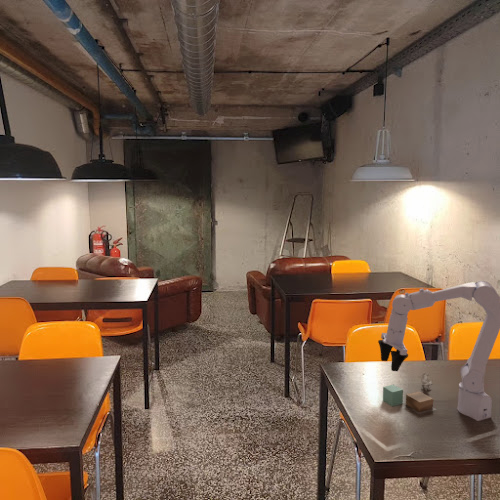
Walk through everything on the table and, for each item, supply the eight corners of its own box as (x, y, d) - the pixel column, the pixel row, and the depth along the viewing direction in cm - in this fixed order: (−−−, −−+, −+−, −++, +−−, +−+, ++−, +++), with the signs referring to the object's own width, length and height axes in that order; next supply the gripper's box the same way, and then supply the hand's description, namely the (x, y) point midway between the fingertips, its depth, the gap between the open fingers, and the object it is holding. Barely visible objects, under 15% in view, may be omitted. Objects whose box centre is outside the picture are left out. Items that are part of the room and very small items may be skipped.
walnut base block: (432, 408, 142) (433, 398, 142) (419, 412, 140) (419, 402, 139) (419, 400, 148) (419, 391, 147) (405, 404, 145) (406, 394, 145)
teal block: (402, 403, 146) (403, 389, 145) (392, 406, 144) (392, 392, 143) (393, 398, 150) (393, 384, 149) (382, 400, 148) (383, 386, 147)
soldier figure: (439, 386, 163) (442, 389, 152) (429, 394, 164) (431, 398, 153) (424, 369, 166) (426, 371, 155) (414, 377, 167) (416, 379, 156)
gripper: (376, 320, 153) (369, 356, 155) (396, 336, 139) (388, 375, 141) (394, 322, 154) (387, 356, 157) (415, 337, 140) (407, 375, 143)
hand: (389, 365), depth 149 cm, fingers open, 7 cm apart
